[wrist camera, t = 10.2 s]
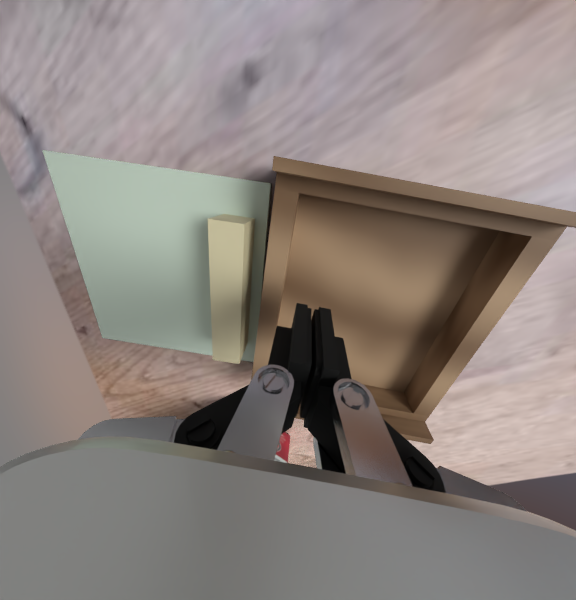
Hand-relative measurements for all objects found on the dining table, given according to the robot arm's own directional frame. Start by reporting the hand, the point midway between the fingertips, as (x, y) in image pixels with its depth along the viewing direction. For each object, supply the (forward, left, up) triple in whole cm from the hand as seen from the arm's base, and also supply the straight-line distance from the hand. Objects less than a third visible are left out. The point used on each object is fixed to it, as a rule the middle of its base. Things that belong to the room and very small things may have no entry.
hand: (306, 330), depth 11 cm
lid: (+1, -10, -6) cm, 12 cm away
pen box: (+1, +4, -6) cm, 7 cm away
